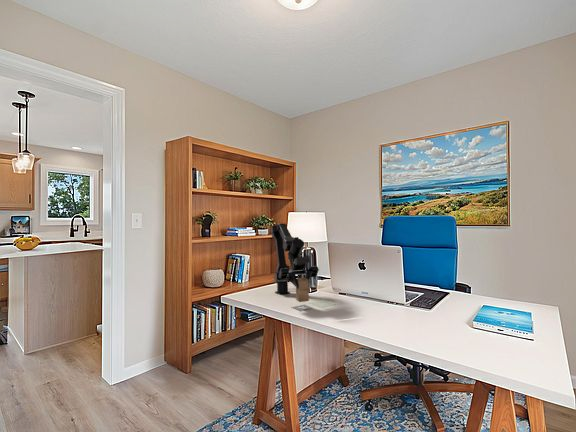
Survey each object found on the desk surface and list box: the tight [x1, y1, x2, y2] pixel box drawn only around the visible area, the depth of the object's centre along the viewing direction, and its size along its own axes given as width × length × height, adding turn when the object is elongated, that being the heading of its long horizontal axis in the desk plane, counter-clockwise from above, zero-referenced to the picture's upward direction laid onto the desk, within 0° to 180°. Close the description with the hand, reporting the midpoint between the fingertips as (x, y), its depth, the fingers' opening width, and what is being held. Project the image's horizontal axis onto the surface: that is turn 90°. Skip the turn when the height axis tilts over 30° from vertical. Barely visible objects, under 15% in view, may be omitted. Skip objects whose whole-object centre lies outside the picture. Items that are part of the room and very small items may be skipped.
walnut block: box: [295, 277, 310, 303], centre depth 145 cm, size 5×5×10 cm
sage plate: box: [308, 299, 337, 309], centre depth 151 cm, size 10×10×1 cm
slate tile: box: [290, 304, 315, 312], centre depth 145 cm, size 8×8×1 cm
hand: (303, 287), depth 144 cm, fingers closed on walnut block, 5 cm apart
